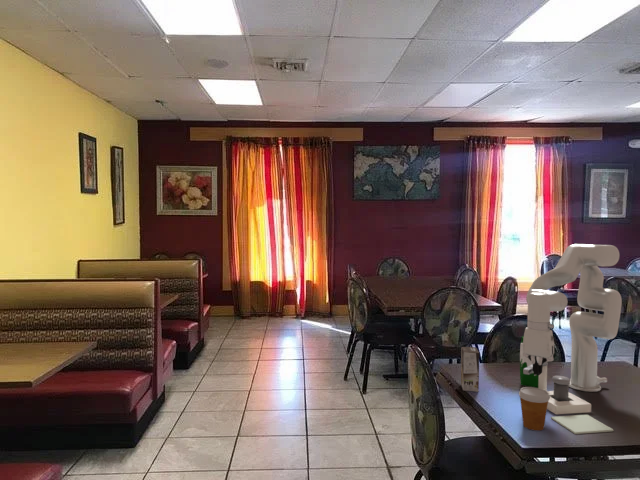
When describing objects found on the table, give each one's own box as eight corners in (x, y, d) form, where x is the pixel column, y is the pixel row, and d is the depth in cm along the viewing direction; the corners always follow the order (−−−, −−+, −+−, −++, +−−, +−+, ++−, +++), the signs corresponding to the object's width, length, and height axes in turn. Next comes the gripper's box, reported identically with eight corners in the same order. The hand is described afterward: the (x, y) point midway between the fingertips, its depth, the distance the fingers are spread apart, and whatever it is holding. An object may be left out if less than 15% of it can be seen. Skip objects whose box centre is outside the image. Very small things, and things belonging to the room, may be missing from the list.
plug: (562, 402, 176) (563, 375, 176) (573, 408, 170) (573, 380, 170) (548, 403, 175) (549, 376, 175) (558, 409, 169) (559, 381, 169)
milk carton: (521, 379, 202) (522, 334, 201) (544, 383, 197) (545, 337, 196) (518, 385, 195) (518, 338, 194) (541, 389, 190) (542, 341, 189)
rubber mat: (587, 416, 163) (587, 414, 163) (613, 431, 151) (613, 429, 151) (551, 418, 161) (551, 416, 161) (574, 434, 149) (575, 432, 149)
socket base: (554, 391, 187) (554, 362, 187) (591, 412, 167) (591, 379, 166) (522, 393, 185) (523, 364, 185) (555, 414, 165) (556, 381, 164)
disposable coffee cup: (512, 421, 159) (513, 386, 159) (539, 420, 160) (539, 386, 160) (527, 433, 150) (528, 397, 149) (555, 432, 150) (556, 396, 150)
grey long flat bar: (540, 362, 185) (540, 358, 185) (548, 364, 183) (548, 360, 183) (521, 373, 172) (521, 368, 172) (530, 375, 170) (530, 370, 170)
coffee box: (479, 392, 187) (479, 352, 186) (462, 390, 188) (463, 351, 187) (476, 384, 196) (476, 346, 195) (460, 383, 197) (461, 346, 196)
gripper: (563, 327, 169) (562, 376, 169) (521, 321, 179) (520, 367, 180) (557, 330, 163) (555, 381, 164) (514, 324, 173) (513, 372, 174)
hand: (537, 374), depth 172 cm, fingers closed
